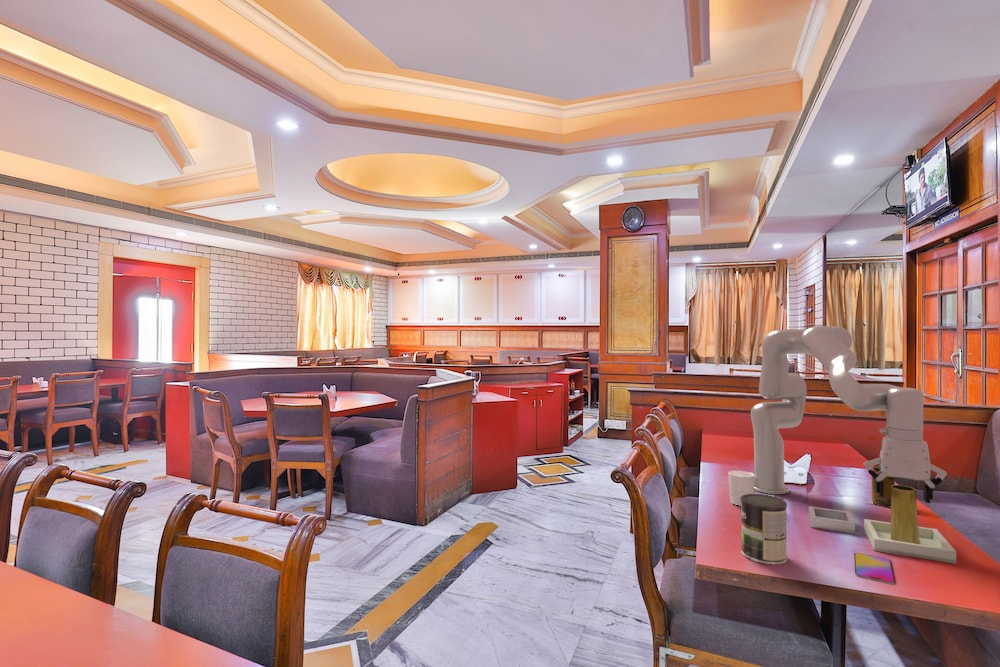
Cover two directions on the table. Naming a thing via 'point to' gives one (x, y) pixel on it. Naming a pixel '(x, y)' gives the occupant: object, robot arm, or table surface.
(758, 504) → the coffee can
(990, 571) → the table surface
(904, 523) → the vase
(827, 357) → the robot arm
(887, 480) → the condiment
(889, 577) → the smartphone
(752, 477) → the white cup
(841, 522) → the white square dish
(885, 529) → the beige tray
